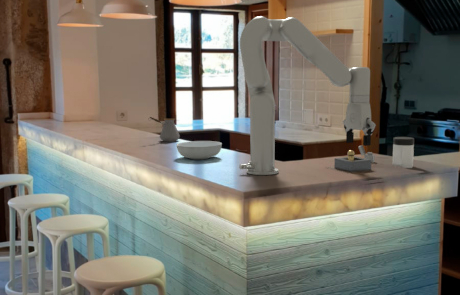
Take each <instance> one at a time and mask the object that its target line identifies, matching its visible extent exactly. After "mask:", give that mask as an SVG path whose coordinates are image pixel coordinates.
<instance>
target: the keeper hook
mask: <svg viewBox="0 0 460 295" xmlns="http://www.w3.org/2000/svg"><path fill="white" fill-rule="evenodd" d="M355 154H356V153H355V151H354V150H351V149H349V150H348V151H347V157H348V160H351V161H354V156H355Z"/></svg>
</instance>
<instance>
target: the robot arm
mask: <svg viewBox="0 0 460 295" xmlns="http://www.w3.org/2000/svg"><path fill="white" fill-rule="evenodd" d="M264 41H265V42H287V43H289V44H290V46H292V47H293V48H294V49H295V50H296V51H297V52H298V53H299V54H300V55H301V56H302V57H303V58H304V59H305V60H306V61H307V62H309V63H310V64H313V66H315V67H316V68H317V69H319V70H320V72H322V73H323V74H324V75H325V76H326V77H327V78H328V80H329V83H330V84H332V85H333V86H336V87H339V88H341V87H346V86H349V88H348V89H349V90H348V91H349V93H348V94H349V96H348V102H347V106H346V111H345V119H344V120H342V124H343V128H344V132H345V133H346V135H345V136H346V137H345V141H346V144H350V143H351V144H352V143H354V137H355V136H354V135H355V134H354V133H355V132H354V130H355V131H356V130H357V131H362V132H363V135H362V138H363V140H362V145H363V147H368V146H371V144H372V142H371V140H372V135H373V133H374V131H375V128H376V126H377V125H376V123H375V122H374V121H372V109H371V103H370V94H371V93H370V91H371V89H370V88H371V69H370V68H369V67H367V66H353V67H347V65H345V64H344V63H343V62H342V61H341V60H340V59H339V58H338V57H337V56H336V54H334V53H333V52H332V51H331V50H330V49H329V48H328V47H327V45H325V44H324V43H323V42H322V41H321V40H320V39H318V37H316V35H315V34H314V33H312V31H310V30H309V28H308V27H307V26H305V25H304V24H303V22H301V21H300V20H299V19H298V18H296V17H293V16H291V17H287V18H285V19H271V18H270V19H269V18H267V17H266V16H262V15H260V16H255V17H254V18H252V19H251V20H250V21H249V22H247V23H246V25H245V26H244V28H243V29H242V31H241V33H240V38H239V49H240V54H241V60H242V62H241V63H242V67H243V72H244V80H245V83H246V86H247V92H248V94H249V99H250V102H249V120H250V121H249V127H250V128H249V130H250V131H249V134H250V135H249V136H250V137H249V138H250V140H249V141H250V146H249V147H250V149H249V150H250V153H249V154H250V157H249V158H250V160H248V161H247V163H244V164H243V163H242V164H239V167H238V168H239V169H240V170H246V174H249V175H254V176H255V175H256V176H266V175H267V176H271V175H276V174H278V173H279V169H278V168H276V167H275V163H276V162H275V160H276V159H275V153H276V152H275V146H276V145H275V144H276V143H275V142H276V141H275V140H276V138H275V135H276V134H275V132H276V131H275V130H276V128H275V125H276V124H275V123H276V122H275V120H276V119H275V117H276V116H275V115H276V101H275V96H274V92H273V86H272V81H271V77H270V72H269V70H268V68H267V65H266V61H265V60H266V59H265V54H264V49H263V42H264Z"/></svg>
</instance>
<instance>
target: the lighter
mask: <svg viewBox="0 0 460 295" xmlns="http://www.w3.org/2000/svg"><path fill="white" fill-rule="evenodd" d="M358 150H359V153H360V155H361V156H363V158H365V159H370V160H371V164H372V163H375V162H376V155H375V154H373V152H372V151H371V152H370V151H368V152H366V151H365V148H364V145H363V144H362V145H359V146H358Z"/></svg>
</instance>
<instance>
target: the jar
mask: <svg viewBox="0 0 460 295" xmlns="http://www.w3.org/2000/svg"><path fill="white" fill-rule="evenodd" d="M392 140H393V144H392V166H393V167H400V168H403V169H404V168H405V169H413V166H414V153H415V152H414V150H415V148H414V147H415V138H414V137H411V136H410V137H409V136H395V137H393V139H392Z"/></svg>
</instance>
